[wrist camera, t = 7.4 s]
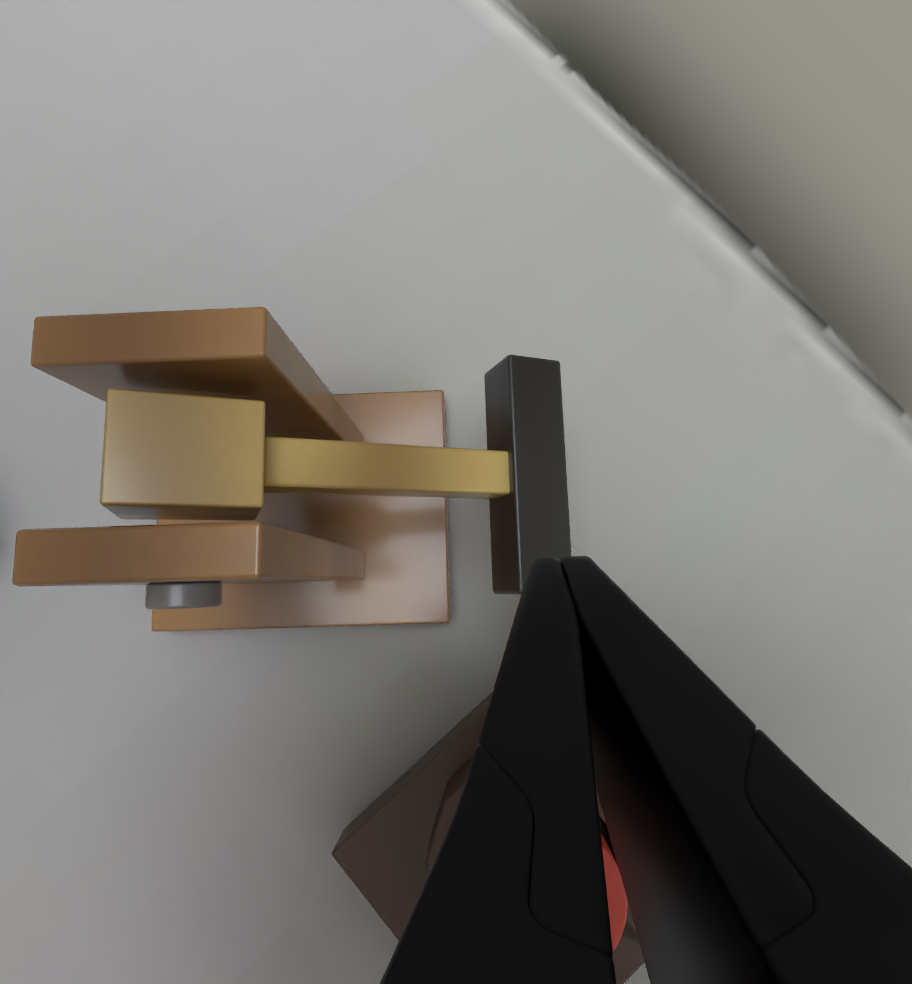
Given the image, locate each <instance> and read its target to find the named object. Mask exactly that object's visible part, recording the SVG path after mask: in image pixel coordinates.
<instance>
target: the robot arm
mask: <svg viewBox="0 0 912 984" xmlns="http://www.w3.org/2000/svg"><path fill="white" fill-rule="evenodd" d="M596 789H597V791H596ZM597 792H598V796H599V800H600V803H601V807H602V810H603V814H604V817H605V821H606V825H607V828H608V832H609V835H610V839H611V843H612V846H613V850H614V853H615V857H616V860H617V864H618V868H619V871H620V875H621V878H622V882H623V886H624V889H625V893H626V896H627V900H628V903H629V907H630V911H631V914H632V918H633V921H634V925H635V929H636V932H637V936H638V939H639V943H640V946H641V950H642V954H643V957H644V961H645V964H646V968H647V972H648V975H649V979H650V982H651V984H912V868H911V867H910V866H909V865H908V864H907V863H906V862H904V861H903V860H902V859H901V858H900V857H899V856H897V855H896V854H895V853H894V852H893V851H892V850H890V849H889V848H888V847H887V846H886V845H884V844H883V843H882V842H881V841H880V840H879V839H877V838H876V837H875V836H874V835H873V834H872V833H870V832H869V831H868V830H867V829H866V828H865V827H864V826H862V825H861V824H860V823H859V822H858V821H857V820H856V819H855V818H853V817H852V816H851V815H850V814H849V813H848V812H847V811H846V810H844V809H843V808H842V807H841V806H840V805H839V804H838V803H836V802H835V801H834V800H833V799H832V798H831V797H830V796H829V795H827V794H826V793H825V792H824V791H823V790H822V789H821V788H820V787H819V786H818V785H817V784H816V783H815V782H814V781H813V780H811V779H810V778H809V777H808V776H807V775H806V774H805V773H804V772H803V771H802V770H801V769H800V768H799V767H798V766H797V765H796V764H795V763H794V762H793V761H792V760H791V759H790V758H789V757H788V756H787V755H785V754H784V753H783V752H782V751H781V750H780V749H779V748H778V747H777V745H776V744H775V743H774V742H773V741H772V740H771V739H770V738H769V737H768V736H767V735H766V734H765V733H764V732H763V731H762V730H756V725H755V724H754V723H753V722H752V721H751V720H750V719H749V718H748V717H747V716H746V715H745V714H744V713H743V712H742V711H741V710H740V709H739V708H738V706H737V705H736V704H735V703H734V702H733V701H732V700H731V699H730V698H729V697H728V696H727V695H726V694H725V693H724V692H723V691H722V690H721V689H720V688H719V687H718V686H717V685H716V684H715V683H714V682H713V681H712V680H711V679H710V678H709V677H708V676H707V675H706V674H705V673H704V672H703V671H702V670H701V669H700V668H699V667H698V666H697V665H696V664H695V663H694V662H693V661H692V660H691V659H690V658H689V657H688V656H687V655H686V654H685V653H684V652H683V651H682V650H681V649H680V648H679V647H678V646H677V645H676V644H675V643H674V642H673V641H672V640H671V639H670V638H669V637H668V636H667V635H666V634H665V633H664V632H663V631H662V630H661V629H660V628H659V627H658V626H657V625H656V624H655V623H654V622H653V621H652V620H651V619H650V618H649V617H648V616H647V615H646V614H645V613H644V612H643V611H642V610H641V609H640V608H639V607H638V606H637V605H636V604H635V603H634V602H633V601H632V600H631V599H630V598H629V597H628V596H627V595H626V594H625V593H624V592H623V591H622V590H621V589H620V588H619V587H618V586H617V585H616V584H615V583H614V582H613V581H612V580H611V579H610V578H609V577H608V576H607V575H606V574H605V573H604V572H603V571H602V570H601V569H600V568H599V567H598V566H597V565H596V564H595V563H594V562H593V560H592V559H590V558H589V557H587V556H573V557H563V558H562V559H561V560H560V561H559V559H557V558H543V559H534V560H533V561H532V562H531V564H530V568H529V571H528V575H527V578H526V581H525V585H524V588H523V591H522V595H521V598H520V602H519V605H518V608H517V612H516V615H515V618H514V622H513V625H512V629H511V632H510V635H509V639H508V642H507V645H506V649H505V652H504V656H503V659H502V662H501V666H500V669H499V672H498V676H497V679H496V682H495V686H494V689H493V693H492V696H491V699H490V703H489V706H488V709H487V713H486V716H485V720H484V723H483V726H482V730H481V733H480V736H479V740H478V746H477V747H476V749H475V752H474V755H473V759H472V762H471V765H470V769H469V772H468V775H467V778H466V781H465V784H464V787H463V790H462V793H461V796H460V799H459V802H458V805H457V808H456V811H455V814H454V816H453V819H452V821H451V823H450V826H449V828H448V831H447V833H446V836H445V838H444V841H443V843H442V846H441V848H440V850H439V853H438V855H437V858H436V860H435V862H434V864H433V867H432V869H431V871H430V873H429V876H428V878H427V880H426V882H425V885H424V887H423V889H422V891H421V893H420V896H419V898H418V900H417V902H416V905H415V907H414V909H413V911H412V914H411V916H410V918H409V920H408V922H407V925H406V927H405V929H404V931H403V934H402V936H401V938H400V940H399V943H398V945H397V947H396V949H395V951H394V954H393V956H392V958H391V960H390V963H389V965H388V967H387V969H386V971H385V973H384V975H383V977H382V980H381V982H380V984H616V977H615V968H614V962H613V960H612V956H613V947H612V938H611V928H610V918H609V908H608V899H607V889H606V879H605V869H604V860H603V850H602V840H601V830H600V820H599V811H598V801H597Z"/></svg>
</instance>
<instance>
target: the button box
mask: <svg viewBox="0 0 912 984" xmlns="http://www.w3.org/2000/svg"><path fill="white" fill-rule="evenodd" d="M492 693H493V692H492ZM492 693H491V694H490V695H489V696H488V697H487V698H486V699H485V700H483V701H482V702H481V703H480V704H479V705H478V706H477V707H476V708H475V709H474V710H473V711H472V712H471V713H469V714H468V715H467V716H466V717H465V718H464V719H463V720H462V721H461V722H460V723H459V724H458V725H457V726H455V727H454V728H453V729H452V730H451V731H450V732H449V733H448V734H447V735H446V736H445V737H444V738H443V739H441V740H440V741H439V742H438V743H437V744H436V745H435V746H434V747H433V748H432V749H431V750H430V751H429V752H427V753H426V754H425V755H424V756H423V757H422V758H421V759H420V760H419V761H418V762H417V763H416V764H415V765H413V766H412V767H411V768H410V769H409V770H408V771H407V772H406V773H405V774H404V775H403V776H402V777H401V778H399V779H398V780H397V781H396V782H395V783H394V784H393V785H392V786H391V787H390V788H389V789H388V790H387V791H385V792H384V793H383V794H382V795H381V796H380V797H379V798H378V799H377V800H376V801H375V802H374V803H373V804H371V805H370V806H369V807H368V808H367V809H366V810H365V811H364V812H363V813H362V814H361V815H360V816H358V817H357V818H356V819H355V820H354V821H353V822H352V823H351V824H350V825H349V826H348V827H347V828H346V829H344V831H343V833H342V835H341V837H340V838H339V840H338V842H337V844H336V846H335V848H334V850H333V852H332V855H333V857H334V858H335V859H336V860H337V862H338V863H339V864H340V866H341V867H342V868H343V869H344V871H345V872H346V873H347V875H348V876H349V877H350V878H351V880H352V881H353V882H354V884H355V885H356V886H357V887H358V889H359V890H360V891H361V893H362V894H363V895H364V896H365V898H366V899H367V900H368V902H369V903H370V904H371V905H372V907H373V908H374V909H375V911H376V912H377V913H378V914H379V916H380V917H381V918H382V920H383V921H384V922H385V923H386V925H387V926H388V927H389V929H390V930H391V931H392V932H393V934H394V935H395V936H396V938H397V939H398V940H400V938H401V936H402V934H403V931H404V929H405V927H406V925H407V922H408V920H409V918H410V916H411V914H412V911H413V909H414V907H415V905H416V902H417V900H418V898H419V896H420V893H421V891H422V889H423V887H424V885H425V882H426V880H427V878H428V876H429V873H430V871H431V869H432V867H433V864H434V862H435V860H436V858H437V855H438V853H439V850H440V848H441V846H442V843H443V841H444V838H445V836H446V833H447V831H448V828H449V826H450V823H451V821H452V819H453V816H454V814H455V811H456V808H457V805H458V802H459V799H460V796H461V793H462V790H463V787H464V784H465V781H466V778H467V775H468V772H469V769H470V765H471V762H472V759H473V755H474V752H475V749H476V747H477V746H478V740H479V736H480V733H481V730H482V726H483V723H484V720H485V716H486V713H487V709H488V706H489V703H490V699H491V696H492ZM596 791H597V789H596ZM597 801H598V811H599V820H600V830H601V834H602V836H603V837H604V839H605V841H606V843H607V845H608V847H609V849H610V851H611V853H612V855H613V857H614V859H615V861H616V863H617V860H616V857H615V853H614V850H613V846H612V843H611V839H610V835H609V832H608V828H607V825H606V821H605V817H604V814H603V810H602V807H601V803H600V800H599V796H598V792H597ZM617 865H618V864H617ZM627 906H628V907H627V918H626V923H625V928H624V931H623V934H622V937H621V939H620V941H619V943H618V945H617V947H616V949H615V950H614V952H613V956H612V960H613V962H614V968H615V977H616V984H623V983H624V982H625V981H626V980H627V979H628V978H629V977H630V976H631V975H632V974H633V973H634V972H635V971H636V970H637V969H638V968H639V967H640V966H641V965H642V964H643V963H644V962H645V961H644V957H643V954H642V950H641V946H640V943H639V939H638V936H637V932H636V929H635V925H634V921H633V918H632V914H631V911H630V907H629V903H628V900H627Z"/></svg>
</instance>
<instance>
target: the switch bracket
mask: <svg viewBox="0 0 912 984" xmlns="http://www.w3.org/2000/svg"><path fill="white" fill-rule="evenodd" d="M31 364H32V366H33V367H35V368H37V369H39V370H41V371H43V372H45V373H47V374H49V375H51V376H53V377H56V378H58V379H60V380H62V381H64V382H66V383H68V384H70V385H72V386H74V387H76V388H78V389H80V390H82V391H84V392H87V393H89V394H91V395H93V396H95V397H97V398H99V399H101V400H103V401H105V402H106V398H107V390H108V389H109V388H116V389H128V390H140V391H152V392H164V393H176V394H187V395H199V396H211V397H223V398H235V399H247V400H259V401H264V402H265V437H266V436H271V437H287V438H303V439H319V440H335V441H351V442H367V443H383V444H399V445H415V446H431V447H446V421H445V399H444V393H443V391H442V390H435V391H409V392H384V393H358V394H333V395H332V394H331V392H330V391H329V390H328V388H327V387H326V386H325V384H324V383H323V382H322V380H321V379H320V378H319V377H318V375H317V374H316V373H315V371H314V370H313V369H312V367H311V366H310V365H309V364H308V362H307V361H306V360H305V358H304V357H303V356H302V354H301V353H300V352H299V350H298V349H297V348H296V347H295V345H294V344H293V343H292V341H291V340H290V339H289V337H288V336H287V335H286V334H285V332H284V331H283V330H282V328H281V327H280V326H279V324H278V323H277V322H276V320H275V319H274V318H273V317H272V315H271V314H270V313H269V311H268V310H267V309H266V308H264V307H252V308H229V309H206V310H183V311H160V312H137V313H114V314H91V315H68V316H45V317H36V318H35V320H34V330H33V342H32V354H31ZM13 584H14V585H17V586H88V585H147V586H146V601H145V607H146V608H147V609H153V612H152V631H185V630H220V629H256V628H291V627H326V626H361V625H396V624H431V623H449V622H450V620H451V598H450V563H449V527H448V498H441V497H405V496H368V495H332V494H296V493H264V499H263V507H262V509H261V510H260V512H259V514H258V516H257V518H256V519H255V520H162V519H157V525H140V526H110V527H80V528H50V529H23V530H21V531H18V532H17V534H16V546H15V558H14V570H13Z"/></svg>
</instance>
